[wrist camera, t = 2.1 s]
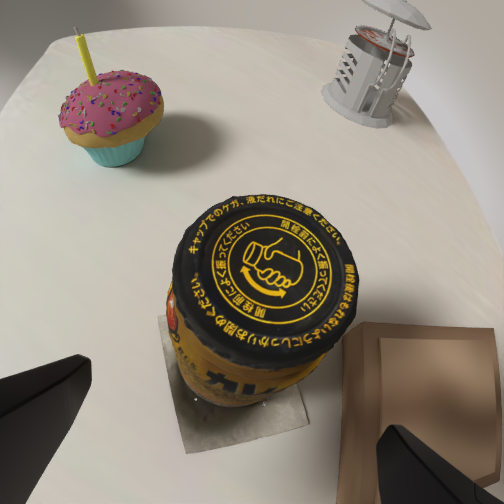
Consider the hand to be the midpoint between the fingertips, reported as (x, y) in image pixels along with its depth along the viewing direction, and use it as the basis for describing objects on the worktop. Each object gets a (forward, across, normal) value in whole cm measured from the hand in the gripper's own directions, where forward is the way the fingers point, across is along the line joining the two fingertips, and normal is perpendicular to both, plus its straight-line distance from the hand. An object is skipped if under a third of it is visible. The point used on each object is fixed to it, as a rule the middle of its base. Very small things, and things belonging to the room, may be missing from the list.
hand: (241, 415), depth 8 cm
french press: (+32, -8, -17) cm, 37 cm away
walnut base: (+8, -13, +6) cm, 17 cm away
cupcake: (+20, +14, -6) cm, 25 cm away
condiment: (+9, 0, +5) cm, 11 cm away
